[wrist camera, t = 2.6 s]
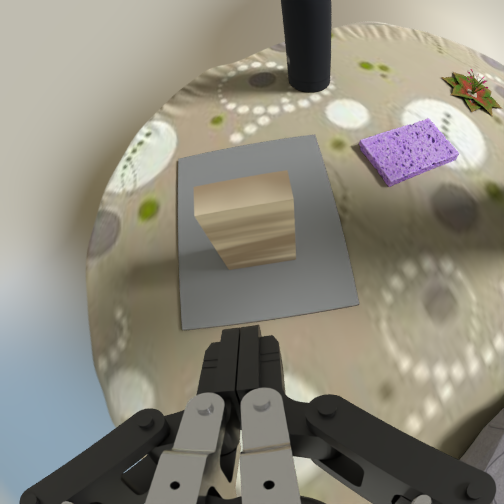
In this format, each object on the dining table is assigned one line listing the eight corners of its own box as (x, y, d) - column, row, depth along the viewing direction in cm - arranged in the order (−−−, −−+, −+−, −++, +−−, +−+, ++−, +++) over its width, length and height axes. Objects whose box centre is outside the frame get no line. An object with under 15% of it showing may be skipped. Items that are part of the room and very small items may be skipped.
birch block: (296, 259, 33) (293, 198, 22) (229, 270, 33) (194, 216, 22) (291, 234, 34) (286, 166, 23) (226, 245, 34) (193, 183, 23)
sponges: (455, 161, 35) (459, 153, 34) (386, 190, 35) (390, 181, 33) (425, 125, 38) (429, 117, 36) (357, 148, 38) (359, 139, 36)
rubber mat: (358, 304, 30) (359, 304, 30) (183, 330, 32) (182, 329, 31) (314, 136, 39) (315, 134, 38) (179, 160, 40) (178, 158, 40)
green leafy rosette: (510, 116, 37) (519, 99, 33) (470, 122, 37) (479, 102, 33) (471, 73, 42) (478, 56, 38) (429, 75, 42) (434, 55, 38)
